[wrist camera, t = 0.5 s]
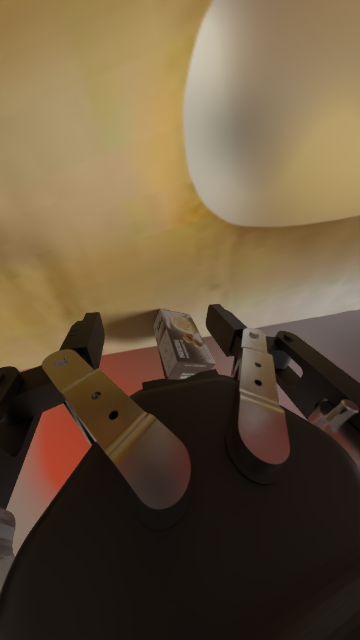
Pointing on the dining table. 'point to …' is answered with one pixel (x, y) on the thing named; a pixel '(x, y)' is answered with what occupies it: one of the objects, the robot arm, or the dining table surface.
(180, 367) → the coffee box
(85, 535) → the robot arm
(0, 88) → the dining table surface
